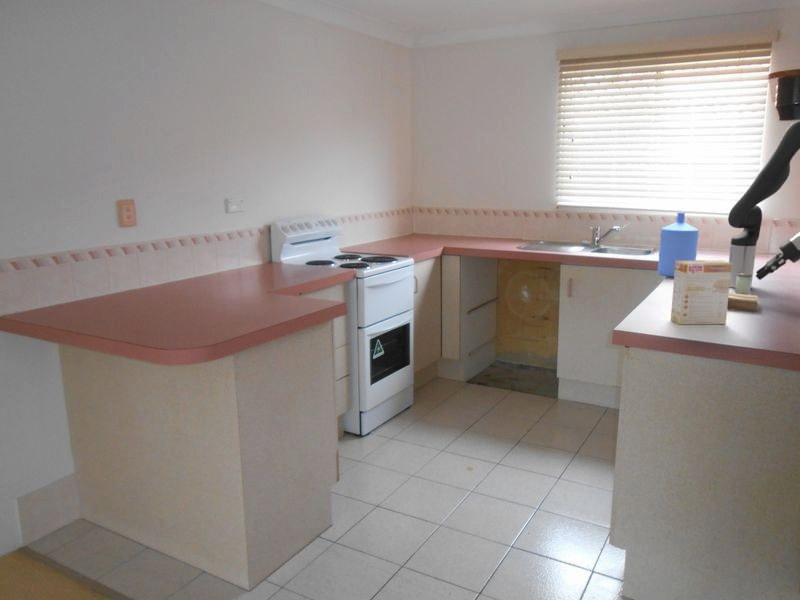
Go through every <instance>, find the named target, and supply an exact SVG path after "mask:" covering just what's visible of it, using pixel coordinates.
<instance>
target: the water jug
mask: <svg viewBox="0 0 800 600" xmlns="http://www.w3.org/2000/svg"><path fill="white" fill-rule="evenodd" d="M676 214H677V216H676V221H675V222H673V223H672V224H669V225H667V226H664V227H662V228H661V230H660V236H659V237H660V243H659V251H658V264H657V265H658V267H657V274H658V275H659V276H662V277H668V278H674V274H675V263H676V261H687V260H696V258H697V249H698V240H699V230H698V229H697V228H696V227H694V226H692V225H690V224H688V223H686V222H685V217H686V216H685V214H686V213H685V212H677V213H676Z"/></svg>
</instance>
